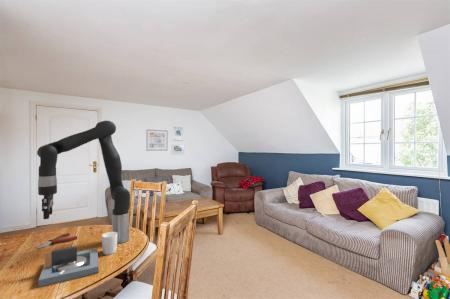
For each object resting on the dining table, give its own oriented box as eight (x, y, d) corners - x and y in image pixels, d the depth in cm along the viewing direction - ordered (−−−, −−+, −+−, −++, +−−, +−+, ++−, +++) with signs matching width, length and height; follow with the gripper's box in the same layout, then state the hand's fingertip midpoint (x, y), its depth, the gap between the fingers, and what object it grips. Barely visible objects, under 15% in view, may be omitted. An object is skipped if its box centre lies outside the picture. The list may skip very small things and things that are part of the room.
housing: (97, 253, 125) (97, 248, 125) (98, 272, 106) (98, 266, 106) (46, 263, 114) (47, 257, 114) (38, 287, 95) (38, 279, 95)
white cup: (120, 250, 130) (120, 232, 130) (109, 256, 122) (109, 237, 122) (109, 248, 132) (109, 231, 132) (98, 254, 125) (98, 235, 125)
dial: (86, 258, 118) (86, 240, 118) (86, 269, 108) (86, 249, 108) (47, 266, 110) (47, 247, 110) (42, 279, 100) (43, 257, 100)
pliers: (31, 247, 133) (31, 243, 133) (68, 236, 151) (68, 232, 151) (40, 252, 127) (40, 247, 127) (78, 239, 145) (78, 235, 145)
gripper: (54, 186, 111) (54, 219, 111) (58, 182, 123) (59, 212, 123) (34, 187, 107) (35, 221, 107) (41, 183, 119) (41, 214, 120)
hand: (48, 216), depth 115 cm, fingers open, 8 cm apart
